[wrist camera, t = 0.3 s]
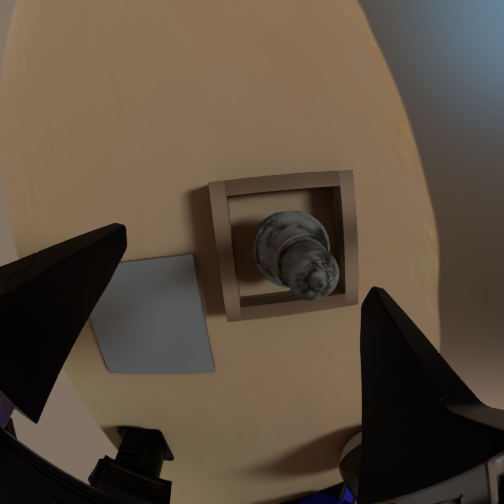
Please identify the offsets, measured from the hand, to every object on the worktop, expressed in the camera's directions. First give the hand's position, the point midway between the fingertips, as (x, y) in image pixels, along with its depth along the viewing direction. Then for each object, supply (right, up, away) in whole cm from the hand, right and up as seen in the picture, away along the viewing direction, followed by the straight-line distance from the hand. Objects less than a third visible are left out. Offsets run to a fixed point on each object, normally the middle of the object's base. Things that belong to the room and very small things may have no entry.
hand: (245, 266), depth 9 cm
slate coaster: (-10, -6, +16) cm, 20 cm away
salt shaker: (+3, +1, +15) cm, 16 cm away
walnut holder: (+3, +1, +15) cm, 15 cm away
